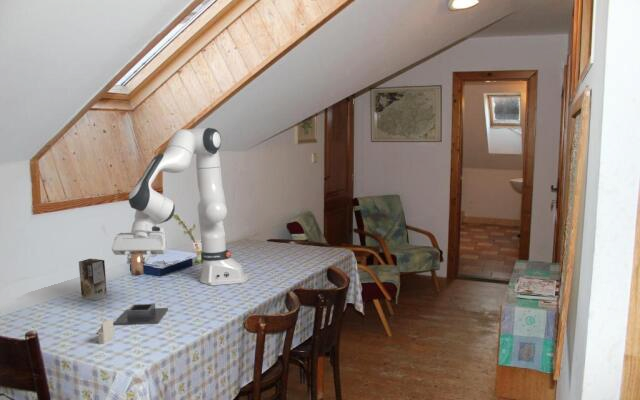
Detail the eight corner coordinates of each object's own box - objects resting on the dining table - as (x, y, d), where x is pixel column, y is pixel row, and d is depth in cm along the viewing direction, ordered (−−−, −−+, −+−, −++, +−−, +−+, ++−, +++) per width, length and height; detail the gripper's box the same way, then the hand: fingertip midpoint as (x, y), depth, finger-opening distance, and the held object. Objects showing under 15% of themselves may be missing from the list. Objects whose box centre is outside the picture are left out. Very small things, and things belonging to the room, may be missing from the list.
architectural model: (95, 344, 186) (93, 323, 185) (107, 337, 192) (106, 316, 191) (104, 345, 185) (102, 323, 184) (116, 338, 191) (114, 316, 191)
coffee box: (107, 297, 239) (105, 259, 238) (95, 301, 234) (92, 263, 232) (93, 294, 244) (91, 257, 242) (80, 298, 239) (78, 261, 237)
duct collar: (168, 309, 219) (167, 300, 219) (158, 323, 203) (157, 313, 203) (126, 311, 219) (126, 301, 218) (113, 325, 203) (112, 315, 203)
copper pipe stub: (144, 272, 216) (144, 252, 215) (141, 275, 211) (140, 254, 210) (133, 273, 215) (132, 252, 215) (129, 275, 211) (128, 254, 210)
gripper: (113, 228, 218) (106, 258, 209) (167, 228, 219) (161, 258, 210) (118, 237, 223) (110, 267, 214) (170, 237, 224) (164, 267, 215)
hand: (136, 262), depth 212 cm, fingers closed on copper pipe stub, 4 cm apart
